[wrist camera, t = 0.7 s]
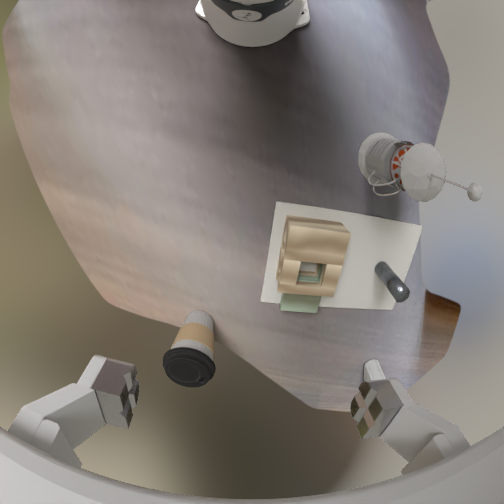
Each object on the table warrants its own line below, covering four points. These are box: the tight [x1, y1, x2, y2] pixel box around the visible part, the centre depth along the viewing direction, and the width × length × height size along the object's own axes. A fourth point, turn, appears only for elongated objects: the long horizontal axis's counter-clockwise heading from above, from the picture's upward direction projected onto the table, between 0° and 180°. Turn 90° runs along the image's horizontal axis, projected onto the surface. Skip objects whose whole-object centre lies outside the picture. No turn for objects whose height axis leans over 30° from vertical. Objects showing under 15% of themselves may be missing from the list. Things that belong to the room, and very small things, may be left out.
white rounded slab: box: [364, 359, 386, 381], centre depth 59 cm, size 10×4×12 cm, turn 16°
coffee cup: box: [163, 310, 215, 387], centre depth 50 cm, size 9×9×15 cm
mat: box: [260, 201, 422, 310], centre depth 51 cm, size 20×30×1 cm, turn 83°
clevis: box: [276, 215, 351, 313], centre depth 48 cm, size 17×10×6 cm, turn 173°
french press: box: [358, 132, 482, 202], centre depth 32 cm, size 10×12×25 cm
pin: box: [375, 261, 410, 302], centre depth 47 cm, size 3×3×10 cm
